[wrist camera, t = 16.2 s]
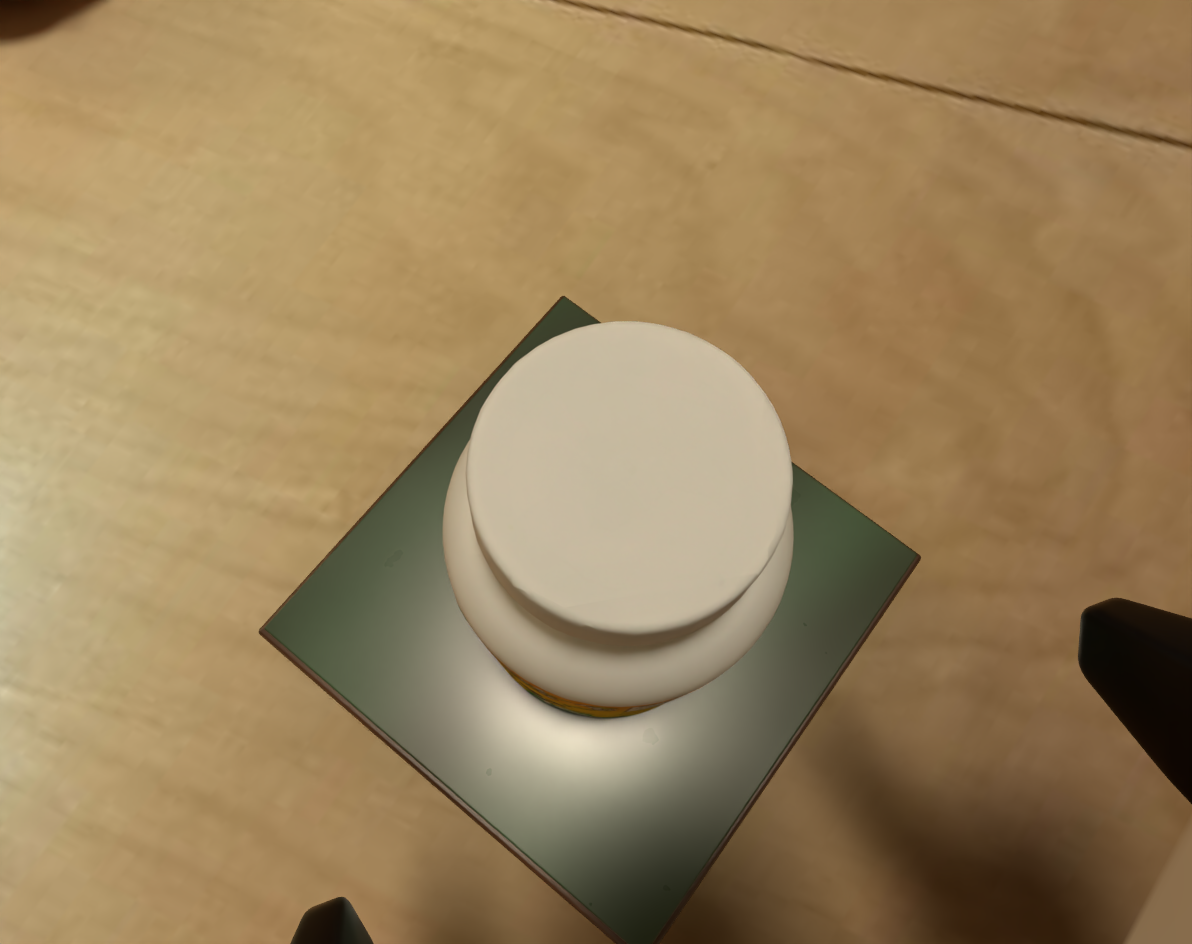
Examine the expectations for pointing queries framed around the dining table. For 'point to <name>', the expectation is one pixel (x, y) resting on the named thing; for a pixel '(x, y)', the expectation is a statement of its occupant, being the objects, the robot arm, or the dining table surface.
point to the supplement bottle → (621, 518)
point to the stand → (565, 739)
